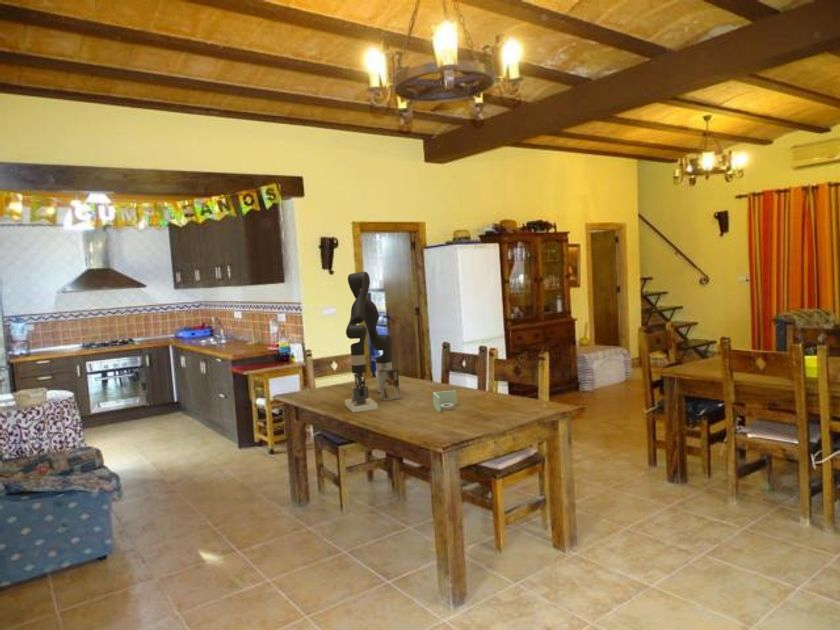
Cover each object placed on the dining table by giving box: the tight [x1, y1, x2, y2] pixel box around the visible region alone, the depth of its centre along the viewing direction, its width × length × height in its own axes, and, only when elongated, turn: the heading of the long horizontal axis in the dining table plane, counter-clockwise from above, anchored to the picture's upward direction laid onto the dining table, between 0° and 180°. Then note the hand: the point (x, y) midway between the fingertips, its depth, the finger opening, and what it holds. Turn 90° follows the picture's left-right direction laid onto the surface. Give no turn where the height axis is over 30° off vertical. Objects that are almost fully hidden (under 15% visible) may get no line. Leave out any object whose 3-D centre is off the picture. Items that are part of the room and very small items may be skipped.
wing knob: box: [351, 385, 370, 403], centre depth 312 cm, size 8×5×8 cm, turn 109°
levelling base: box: [344, 394, 378, 413], centre depth 314 cm, size 13×18×6 cm
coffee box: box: [379, 368, 401, 402], centre depth 329 cm, size 9×6×16 cm
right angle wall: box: [432, 389, 458, 413], centre depth 300 cm, size 12×12×8 cm
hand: (360, 395), depth 312 cm, fingers open, 6 cm apart
